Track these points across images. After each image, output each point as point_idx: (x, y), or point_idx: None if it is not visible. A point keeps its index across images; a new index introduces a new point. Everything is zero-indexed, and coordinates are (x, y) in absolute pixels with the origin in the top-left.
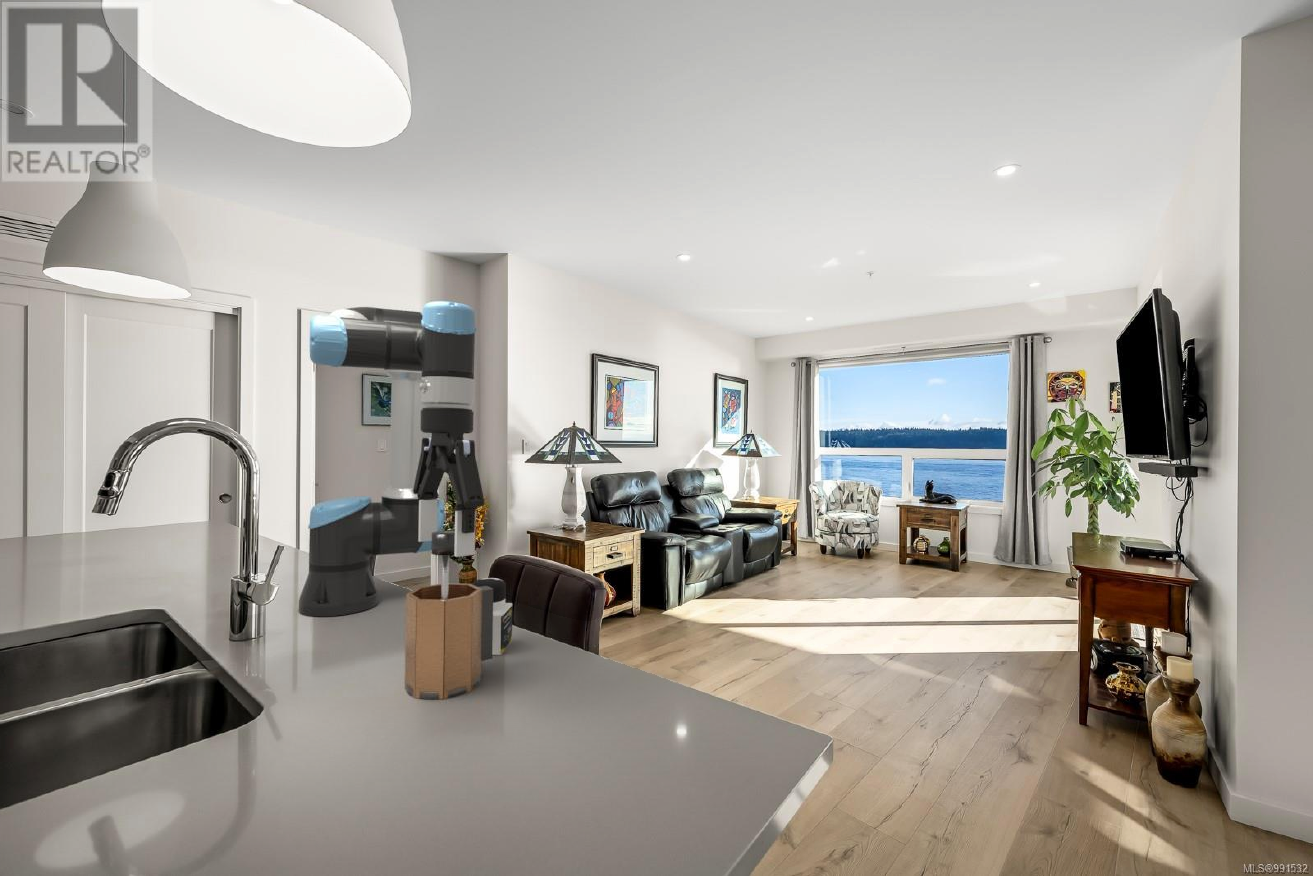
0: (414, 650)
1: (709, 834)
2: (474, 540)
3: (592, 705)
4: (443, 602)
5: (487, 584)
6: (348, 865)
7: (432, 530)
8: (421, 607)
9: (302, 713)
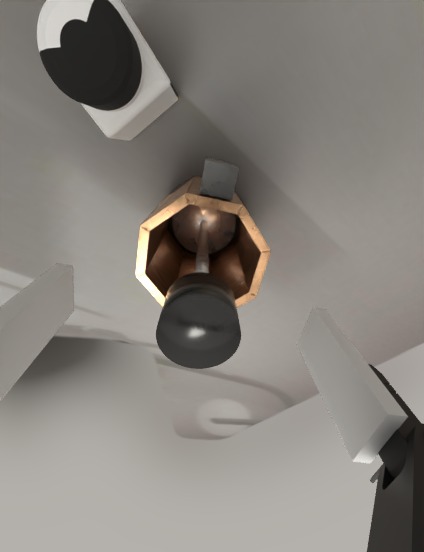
0: None
1: None
2: (342, 332)
3: (398, 144)
4: (254, 297)
5: (113, 76)
6: None
7: (56, 294)
8: None
9: None
